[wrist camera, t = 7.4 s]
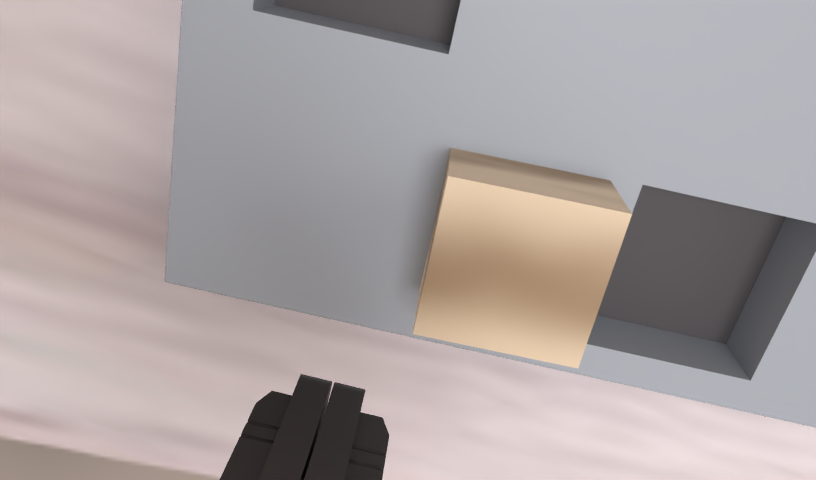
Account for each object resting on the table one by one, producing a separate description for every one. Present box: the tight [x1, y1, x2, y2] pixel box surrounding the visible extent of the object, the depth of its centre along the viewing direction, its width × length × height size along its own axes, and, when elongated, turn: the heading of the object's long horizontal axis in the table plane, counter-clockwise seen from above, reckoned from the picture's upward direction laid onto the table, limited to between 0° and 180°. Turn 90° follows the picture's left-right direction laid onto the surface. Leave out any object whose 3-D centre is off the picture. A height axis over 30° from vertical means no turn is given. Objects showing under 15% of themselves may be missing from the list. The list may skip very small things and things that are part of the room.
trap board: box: [165, 0, 816, 427], centre depth 24 cm, size 20×32×4 cm, turn 78°
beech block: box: [413, 148, 632, 368], centre depth 24 cm, size 6×6×4 cm
